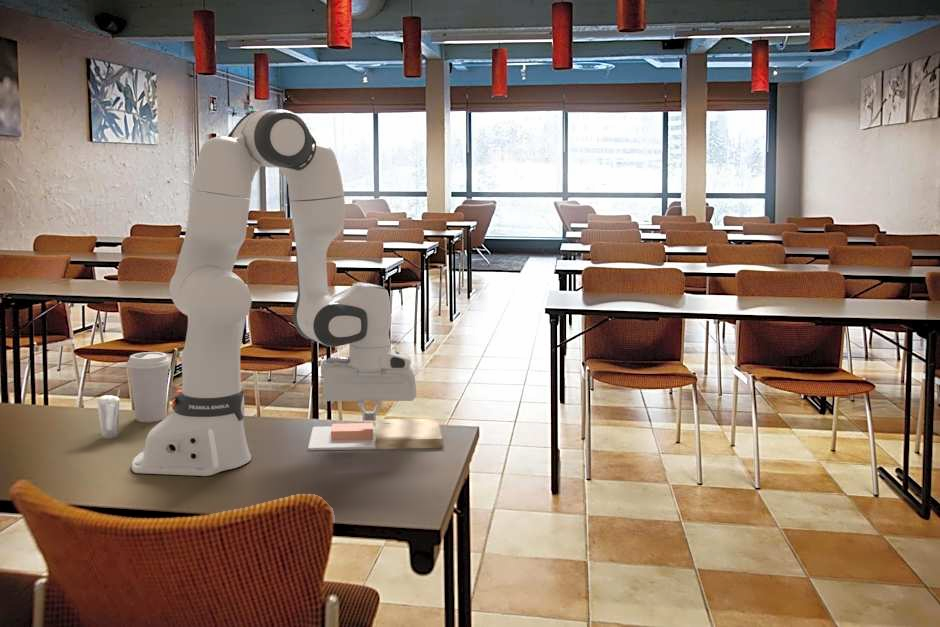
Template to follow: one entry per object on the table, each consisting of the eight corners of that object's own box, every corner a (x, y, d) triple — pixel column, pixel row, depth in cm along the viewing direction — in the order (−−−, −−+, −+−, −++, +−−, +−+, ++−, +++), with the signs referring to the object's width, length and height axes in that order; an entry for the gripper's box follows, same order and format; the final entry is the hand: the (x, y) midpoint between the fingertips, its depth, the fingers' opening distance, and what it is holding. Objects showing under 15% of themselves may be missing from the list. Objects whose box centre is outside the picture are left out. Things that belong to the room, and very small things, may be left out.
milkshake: (128, 435, 198) (126, 390, 197) (107, 440, 194) (105, 395, 192) (115, 431, 201) (113, 387, 199) (94, 437, 196) (91, 392, 195)
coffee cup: (149, 411, 218) (146, 349, 215) (181, 415, 214) (178, 353, 212) (119, 421, 209) (116, 357, 207) (152, 426, 205) (150, 361, 203)
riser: (375, 449, 190) (375, 439, 190) (375, 427, 206) (375, 419, 206) (442, 447, 192) (442, 438, 192) (437, 426, 208) (437, 418, 207)
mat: (308, 450, 189) (308, 448, 189) (313, 428, 205) (313, 426, 205) (375, 449, 190) (375, 446, 190) (375, 427, 206) (375, 425, 206)
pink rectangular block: (330, 440, 194) (330, 431, 194) (332, 432, 200) (332, 423, 200) (373, 439, 195) (373, 430, 195) (373, 431, 201) (373, 423, 201)
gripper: (319, 360, 191) (319, 424, 193) (417, 360, 193) (416, 424, 195) (321, 354, 197) (321, 416, 199) (416, 355, 199) (415, 416, 201)
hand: (369, 420), depth 197 cm, fingers closed
